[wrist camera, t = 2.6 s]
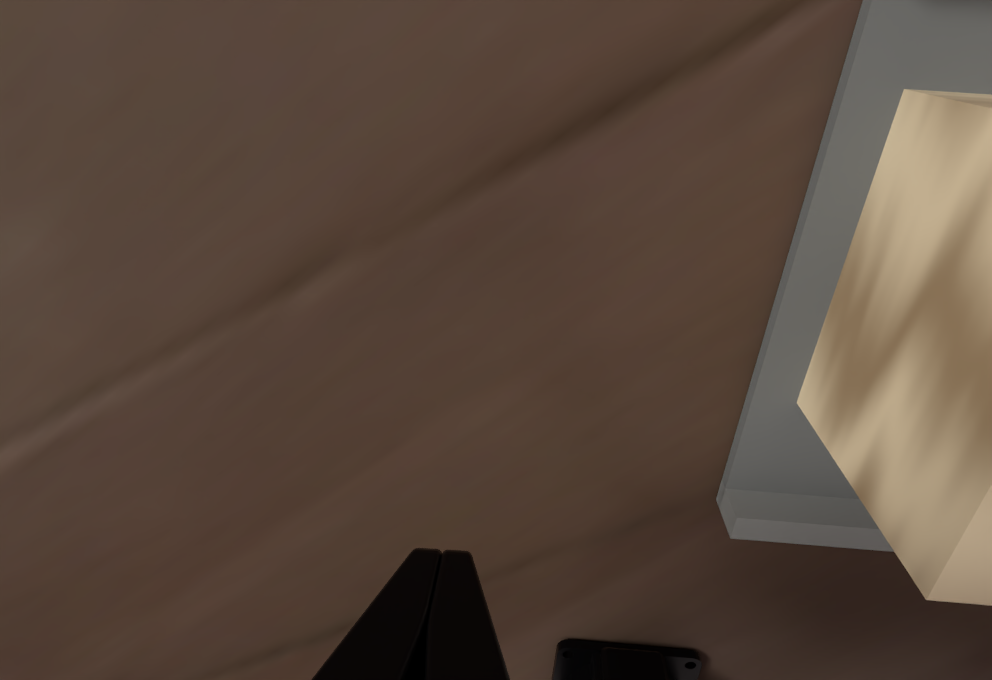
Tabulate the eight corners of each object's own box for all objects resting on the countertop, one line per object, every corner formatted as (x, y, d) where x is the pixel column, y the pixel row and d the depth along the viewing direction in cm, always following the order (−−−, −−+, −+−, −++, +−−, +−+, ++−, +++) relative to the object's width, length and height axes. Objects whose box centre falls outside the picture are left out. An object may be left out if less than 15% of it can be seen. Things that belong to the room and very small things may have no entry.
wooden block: (885, 409, 21) (1060, 611, 14) (796, 402, 21) (925, 600, 14) (1019, 96, 16) (1386, 164, 9) (903, 89, 16) (1180, 151, 9)
